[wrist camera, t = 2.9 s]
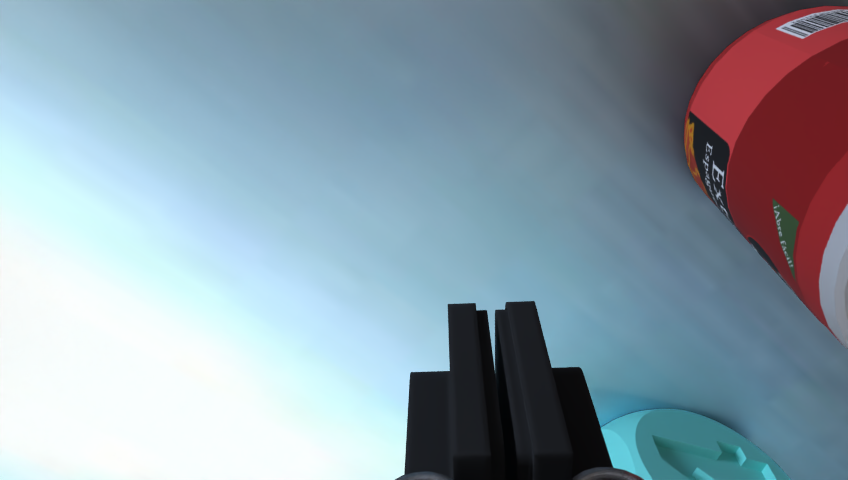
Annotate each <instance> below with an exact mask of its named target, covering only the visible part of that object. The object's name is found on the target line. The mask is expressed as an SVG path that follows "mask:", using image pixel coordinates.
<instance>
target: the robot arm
mask: <svg viewBox="0 0 848 480" xmlns="http://www.w3.org/2000/svg"><path fill="white" fill-rule="evenodd" d="M448 324H449V357H450V371H437V372H411V374H410V385H409V403H408V421H407V439H406V457H405V475H403V476H401V477H399V478H397V479H395V480H644V479H642V478H641V477H640V476H637V475H635V474H633V473H631V472H628V471H626V470H622V469H617V468H613V465H612V462H611V459H610V456H609V453H608V449H607V446H606V443H605V440H604V437H603V434H602V431H601V427H600V424H599V421H598V418H597V415H596V412H595V409H594V405H593V402H592V399H591V396H590V393H589V390H588V387H587V384H586V380H585V377H584V374H583V372H582V369H581V368H580V367H568V368H551V364H550V360H549V356H548V352H547V348H546V344H545V340H544V336H543V332H542V328H541V324H540V320H539V316H538V312H537V309H536V305H535V302H534V301H525V302H506V305H505V310H495V370H494V362H493V354H492V347H491V339H490V331H489V323H488V315H487V310H479V311H476V304H475V303H467V304H448Z"/></svg>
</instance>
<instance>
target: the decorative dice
mask: <svg viewBox="0 0 848 480" xmlns="http://www.w3.org/2000/svg"><path fill="white" fill-rule="evenodd" d="M601 431H602V434H603V437H604V440H605V443H606V446H607V449H608V453H609V456H610V459H611V462H612V465H613V468H617V469H622V470H626V471H628V472H631V473H633V474H635V475H637V476H640V477H641V478H642V479H644V480H791V479H790V478H789V477H788V476H787V474H786V473H785V472H784V471H783V470H782V469H781V468H780V467H779V466H778V465H777V464H776V463H775V462H774V461H773V460H772V459H771V458H770V457H769V456H768V455H767V454H765V453H764V452H763V451H762V450H761V449H759V448H758V447H757V446H756V445H754V444H753V443H752V442H750V441H749V440H747V439H746V438H745V437H743V436H742V435H740V434H738V433H737V432H735V431H734V430H732V429H730V428H728V427H727V426H725V425H723V424H721V423H719V422H717V421H715V420H712V419H710V418H708V417H705V416H702V415H699V414H696V413H693V412H689V411H685V410H680V409H651V410H643V411H638V412H634V413H631V414H627V415H625V416H622V417H619V418H617V419H615V420H613V421H611V422H609V423H607V424H606V425H604V426H603V427H601Z"/></svg>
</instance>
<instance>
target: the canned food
mask: <svg viewBox="0 0 848 480" xmlns="http://www.w3.org/2000/svg"><path fill="white" fill-rule="evenodd" d="M684 145H685V151H686V157H687V163H688V166H689V168H690V171H691V173H692V175H693V178H694V180H695V181H696V183H697V184H698V185H699V186H700V188H701V189H702V190H703V192H704V193H705V194H706V195H707V196H708V197H709V199H710V200H711V201H712V202H713V203H714V204H715V205H716V206H717V207H718V209H719V210H720V211H721V212H722V213H723V214H724V215H725V216H726V217H727V219H728V220H729V221H730V222H731V223H732V224H733V225H734V226H735V227H736V229H737V230H738V231H739V232H740V233H741V234H742V235H743V236H744V238H745V239H746V240H747V241H748V242H749V243H750V244H751V245H752V246H753V248H754V249H755V250H756V251H757V252H758V253H759V254H760V255H761V256H762V258H763V259H764V260H765V261H766V262H767V263H768V264H769V265H770V266H771V268H772V269H773V270H774V271H775V272H776V273H777V274H778V275H779V276H780V278H781V279H782V280H783V281H784V282H785V283H786V284H787V285H788V287H789V288H790V289H791V290H792V291H793V292H794V293H795V294H796V295H797V297H798V298H799V299H800V300H801V301H802V302H803V303H804V304H805V305H806V307H807V308H808V309H809V310H810V311H811V312H812V313H813V314H814V315H815V317H816V318H817V319H818V320H819V321H820V322H821V323H822V324H823V325H825V326H826V327H827V328H828V330H829V331H830V332H831V333H832V334H833V335H834V336H835V337H836V338H837V339H838V340H839V342H840V343H841V344H842V345H843V346H845V347H846V348H847V349H848V7H845V6H821V7H815V8H809V9H803V10H798V11H795V12H791V13H788V14H785V15H782V16H779V17H776V18H774V19H771V20H768V21H766V22H764V23H762V24H760V25H758V26H757V27H755V28H753V29H751V30H749V31H747V32H746V33H744V34H743V35H742V36H741V37H739V38H738V39H737V40H735V41H734V42H733V43H731V44H730V45H729V46H727V47H726V49H725V50H724V51H723V52H722V53H721V54H720V55H719V56H718V57H717V58H716V59H715V60H714V61H713V62H712V63H711V65H710V66H709V67H708V69H707V70H706V72H705V73H704V75H703V76H702V77H701V79H700V80H699V82H698V84H697V86H696V88H695V90H694V93H693V95H692V97H691V99H690V102H689V105H688V109H687V113H686V117H685V126H684Z"/></svg>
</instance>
